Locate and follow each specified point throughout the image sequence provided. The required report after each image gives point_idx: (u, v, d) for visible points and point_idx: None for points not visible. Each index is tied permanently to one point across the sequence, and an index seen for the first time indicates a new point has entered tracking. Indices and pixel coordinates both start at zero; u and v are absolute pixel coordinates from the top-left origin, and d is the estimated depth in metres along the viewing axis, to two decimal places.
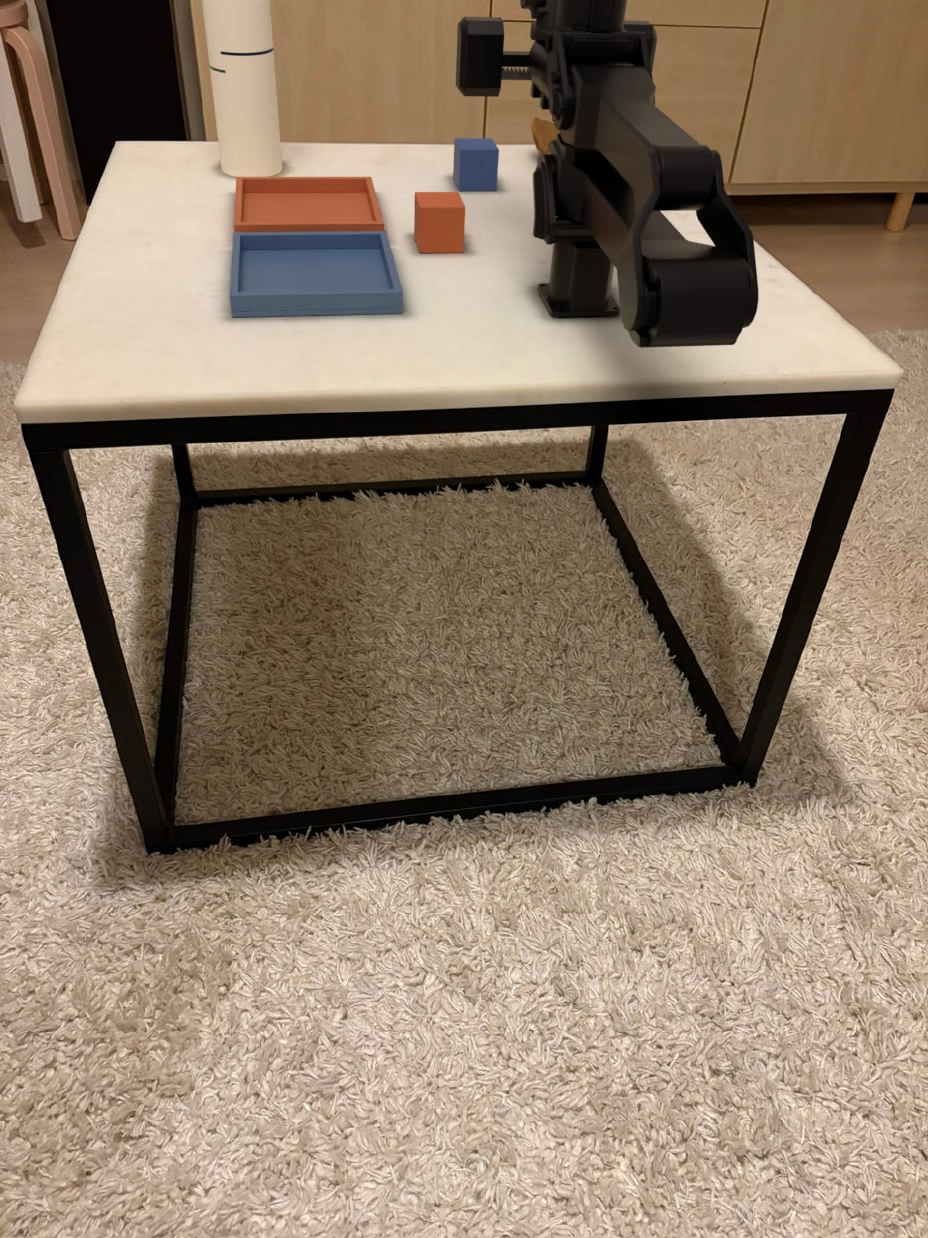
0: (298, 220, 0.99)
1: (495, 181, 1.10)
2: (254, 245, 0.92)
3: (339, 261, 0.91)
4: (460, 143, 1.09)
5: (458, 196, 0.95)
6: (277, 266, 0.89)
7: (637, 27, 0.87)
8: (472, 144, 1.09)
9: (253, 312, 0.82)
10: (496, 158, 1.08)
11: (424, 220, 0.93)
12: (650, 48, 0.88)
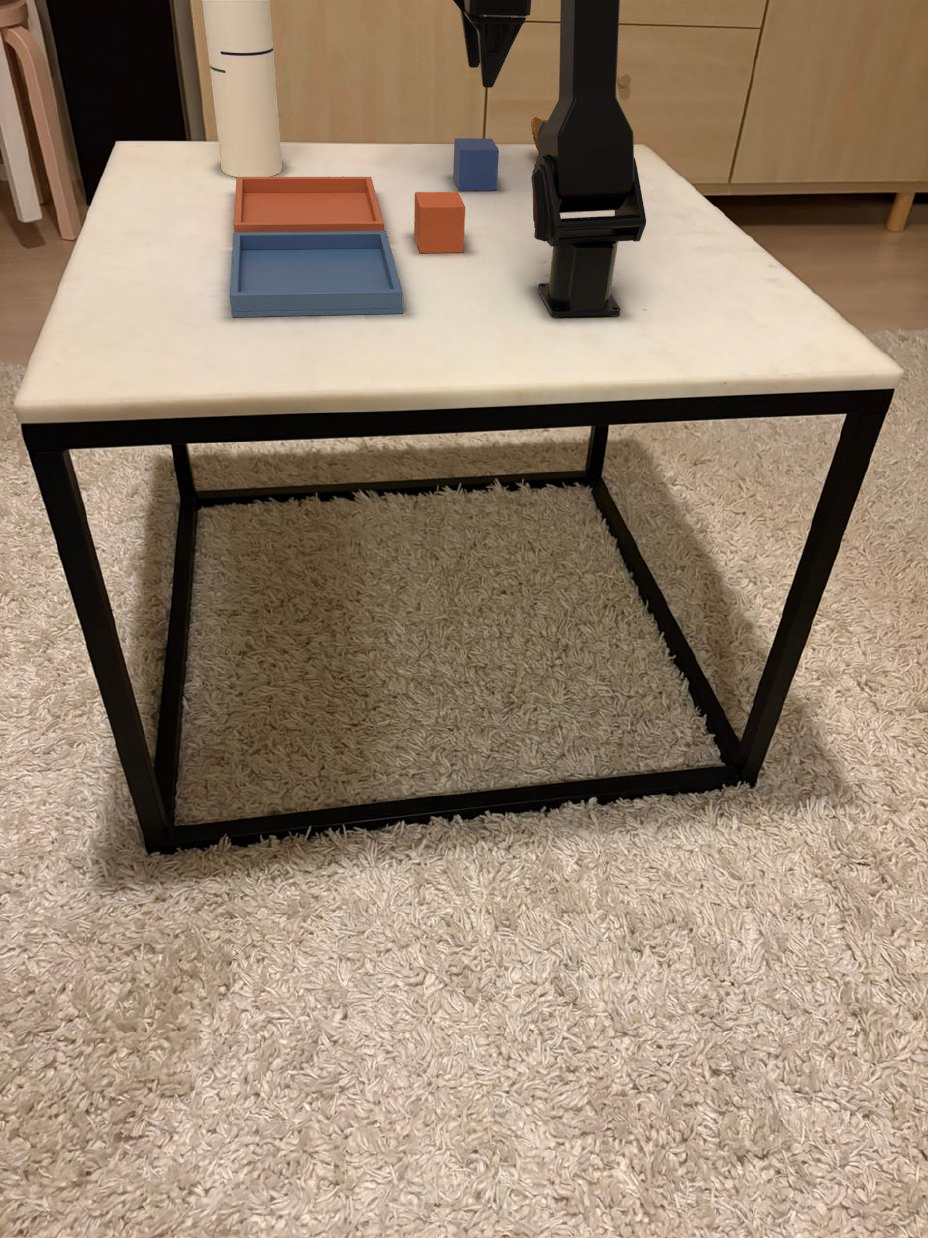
0: (298, 220, 0.99)
1: (495, 181, 1.10)
2: (254, 245, 0.92)
3: (339, 261, 0.91)
4: (460, 143, 1.09)
5: (458, 196, 0.95)
6: (277, 266, 0.89)
7: None
8: (472, 144, 1.09)
9: (253, 312, 0.82)
10: (496, 158, 1.08)
11: (424, 220, 0.93)
12: None
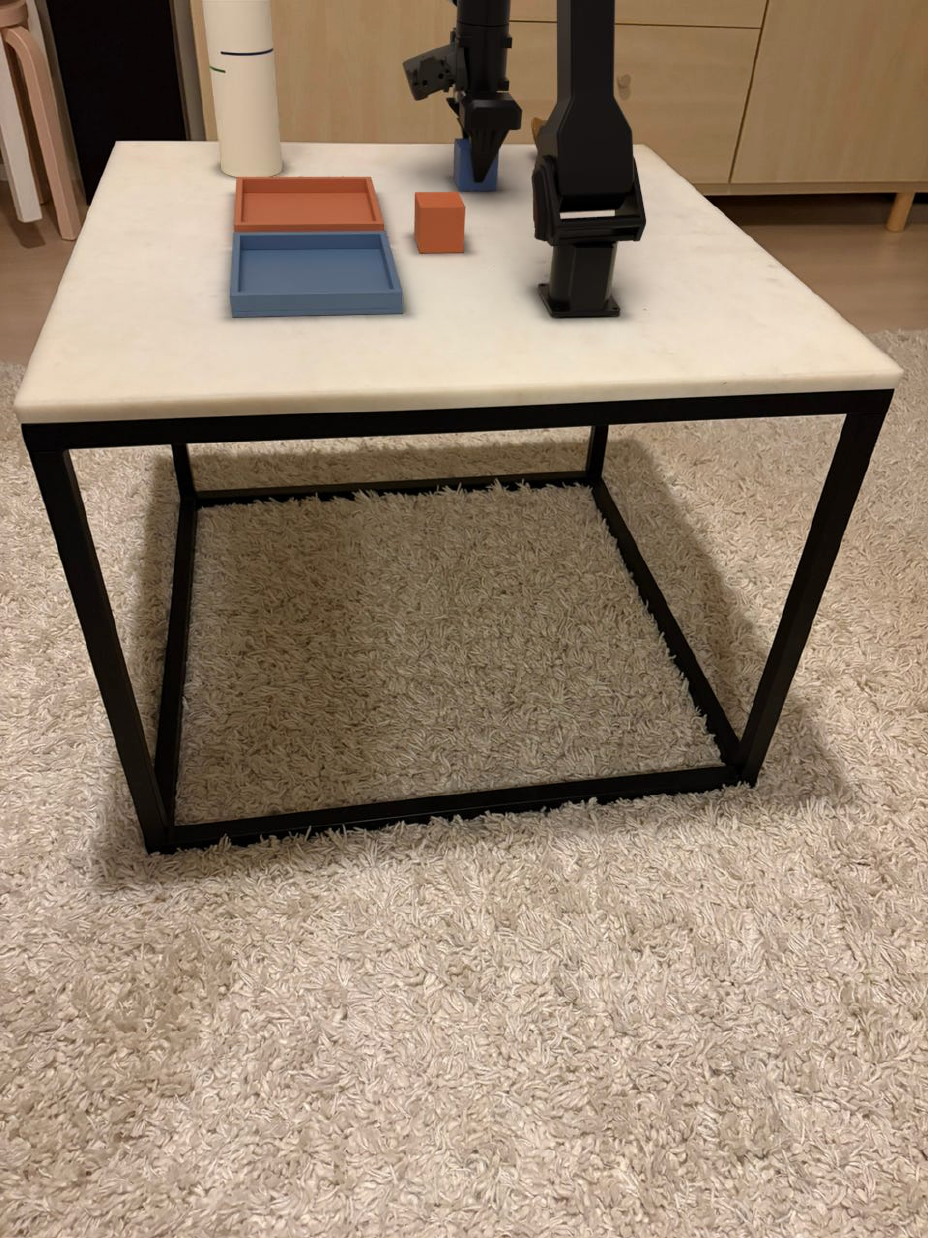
0: (298, 220, 0.99)
1: (495, 181, 1.10)
2: (254, 245, 0.92)
3: (339, 261, 0.91)
4: (460, 143, 1.09)
5: (458, 196, 0.95)
6: (277, 266, 0.89)
7: None
8: None
9: (253, 312, 0.82)
10: (496, 158, 1.08)
11: (424, 220, 0.93)
12: None
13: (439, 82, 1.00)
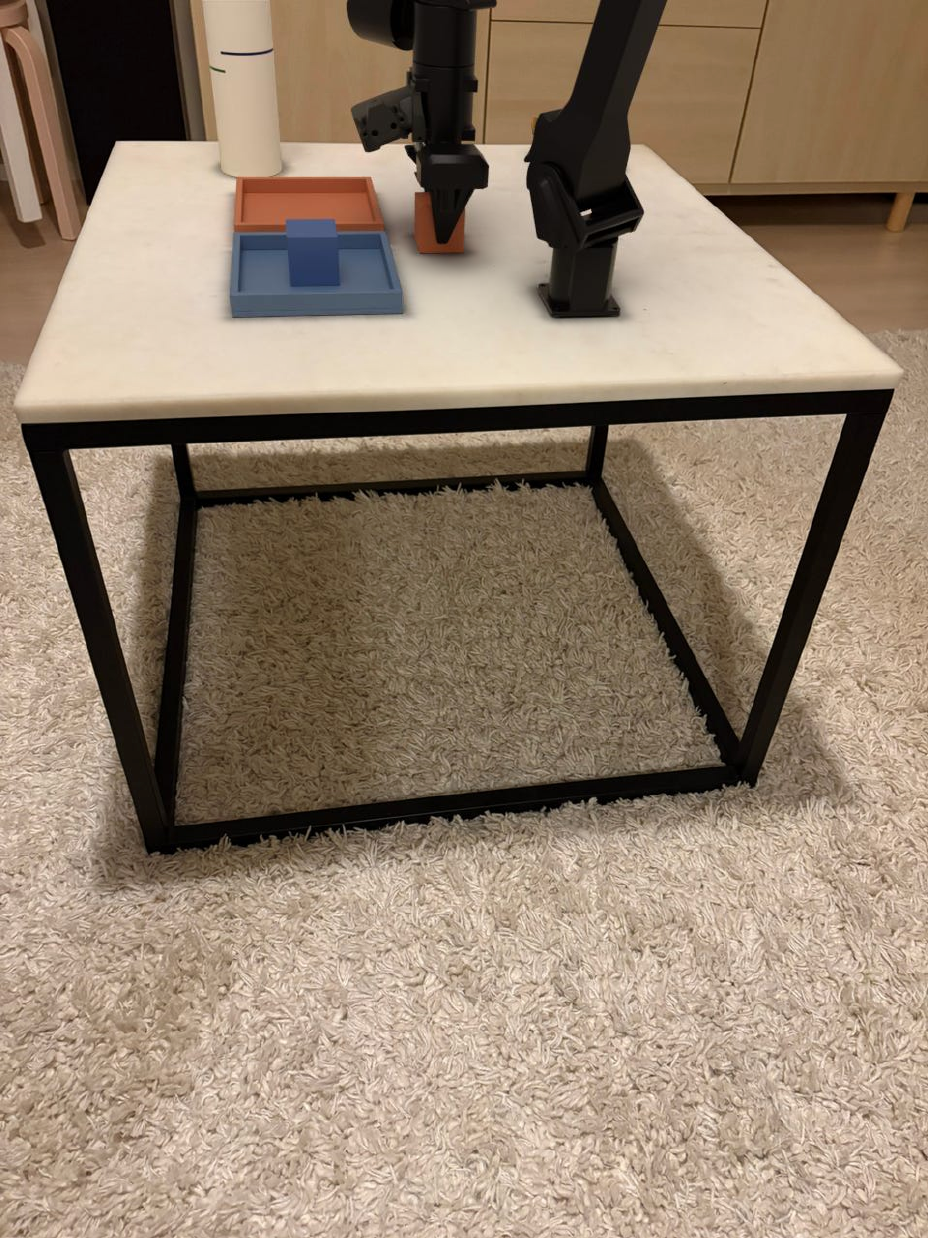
0: None
1: (337, 274, 0.86)
2: (254, 245, 0.92)
3: (339, 261, 0.91)
4: (290, 227, 0.85)
5: None
6: (277, 266, 0.89)
7: None
8: (305, 228, 0.85)
9: (253, 312, 0.82)
10: (335, 247, 0.84)
11: (424, 221, 0.93)
12: None
13: (392, 132, 0.85)
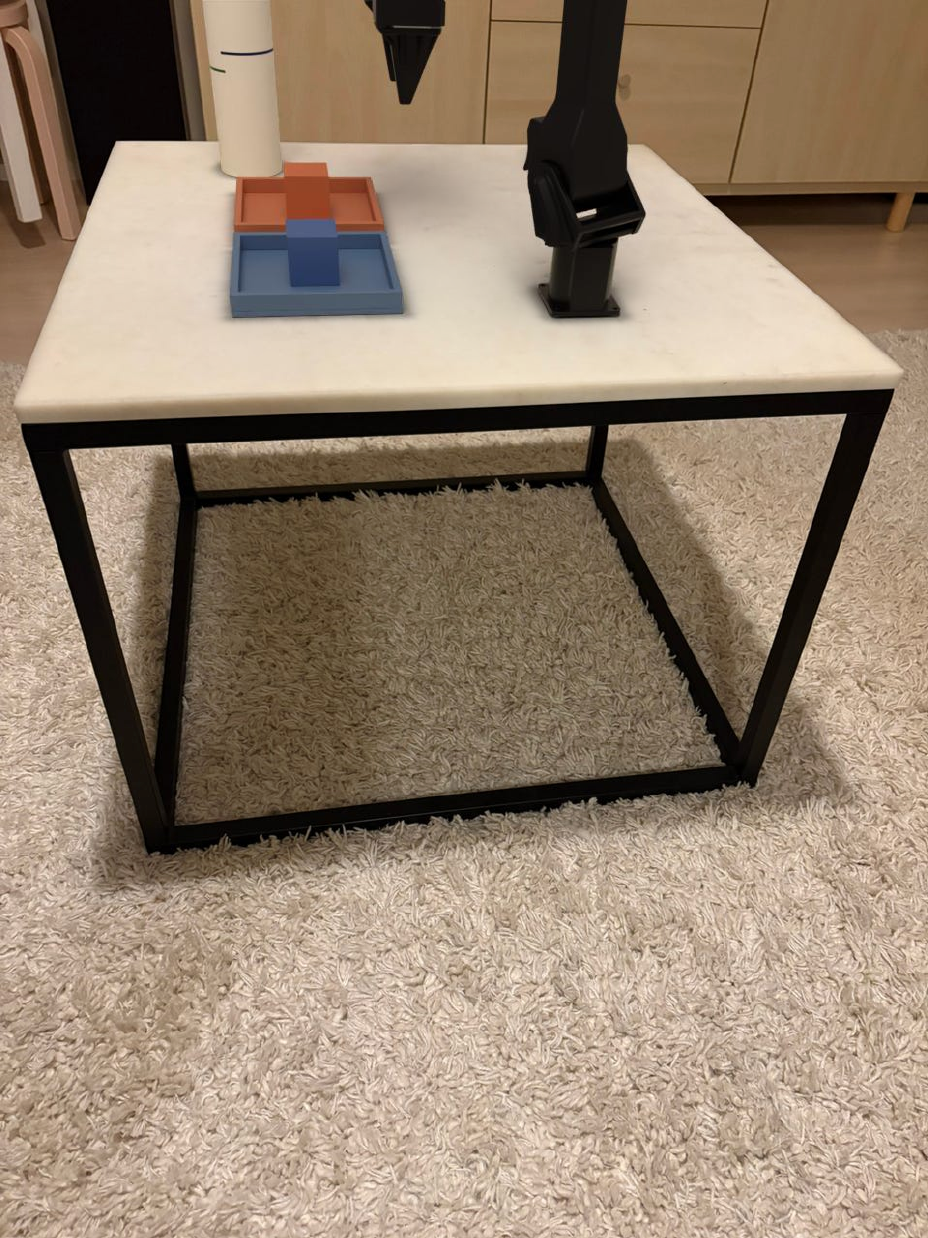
0: None
1: (337, 274, 0.86)
2: (254, 245, 0.92)
3: (339, 261, 0.91)
4: (290, 227, 0.85)
5: (324, 166, 0.98)
6: (277, 266, 0.89)
7: None
8: (305, 228, 0.85)
9: (253, 312, 0.82)
10: (335, 247, 0.84)
11: (289, 189, 0.96)
12: None
13: None
